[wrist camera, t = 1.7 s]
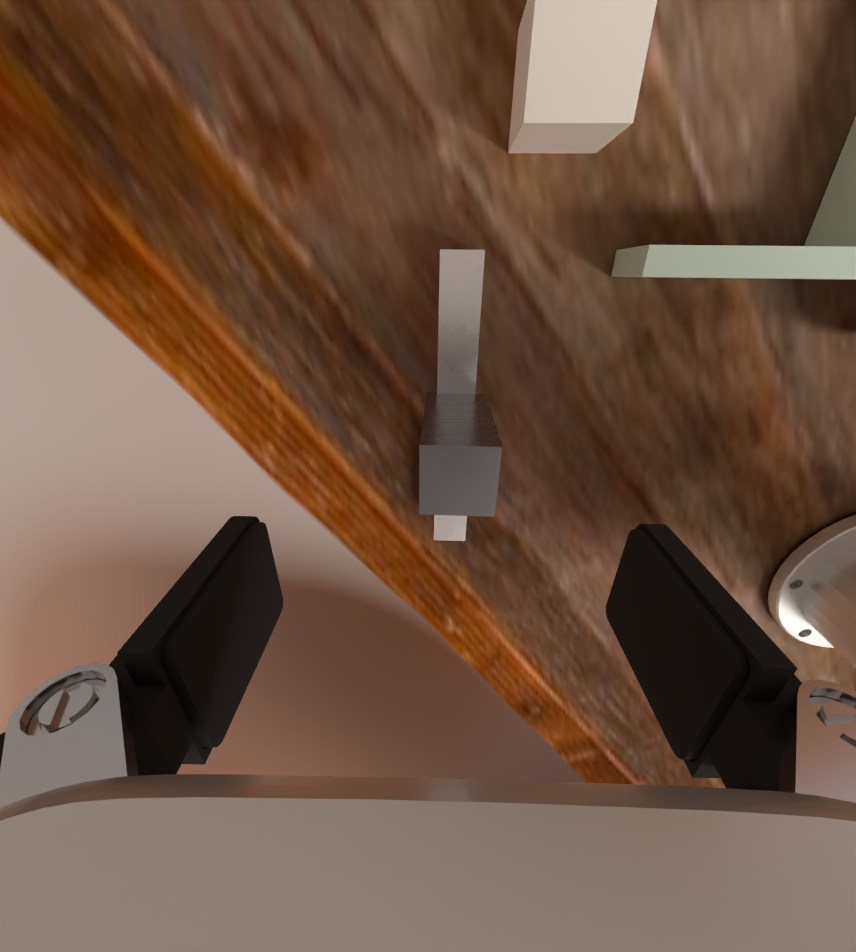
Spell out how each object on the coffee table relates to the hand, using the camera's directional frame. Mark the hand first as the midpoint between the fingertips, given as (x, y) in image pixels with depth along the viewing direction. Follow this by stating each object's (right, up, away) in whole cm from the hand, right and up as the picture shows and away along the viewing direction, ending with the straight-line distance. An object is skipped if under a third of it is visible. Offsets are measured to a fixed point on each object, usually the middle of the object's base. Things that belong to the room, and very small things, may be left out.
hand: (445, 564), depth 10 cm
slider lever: (+1, +7, +13) cm, 15 cm away
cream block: (+5, +19, +7) cm, 21 cm away
